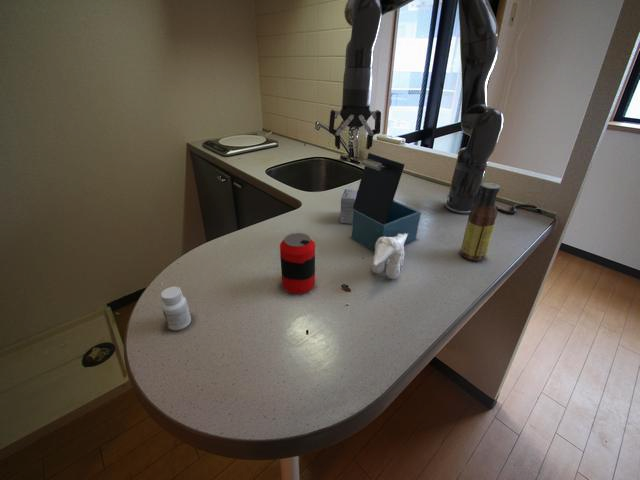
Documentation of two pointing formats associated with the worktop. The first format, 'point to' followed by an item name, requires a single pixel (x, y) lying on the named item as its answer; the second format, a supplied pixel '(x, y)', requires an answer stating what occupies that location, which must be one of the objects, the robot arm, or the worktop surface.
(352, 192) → the medicine box
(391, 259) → the dinosaur statue
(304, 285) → the soda can
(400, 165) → the black box lid
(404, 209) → the blue box
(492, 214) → the sauce bottle
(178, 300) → the pill bottle
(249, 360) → the worktop surface
